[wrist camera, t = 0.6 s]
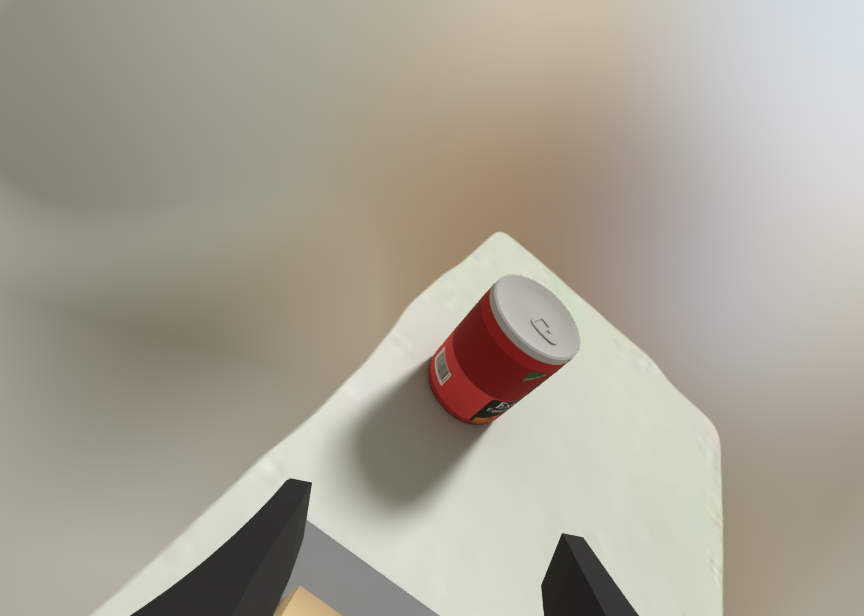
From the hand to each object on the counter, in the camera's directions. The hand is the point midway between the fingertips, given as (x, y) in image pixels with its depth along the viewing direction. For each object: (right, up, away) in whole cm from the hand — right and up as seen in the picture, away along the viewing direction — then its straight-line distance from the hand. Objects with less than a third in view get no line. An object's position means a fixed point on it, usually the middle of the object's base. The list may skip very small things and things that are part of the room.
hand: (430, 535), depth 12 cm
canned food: (+3, -1, +28) cm, 28 cm away
